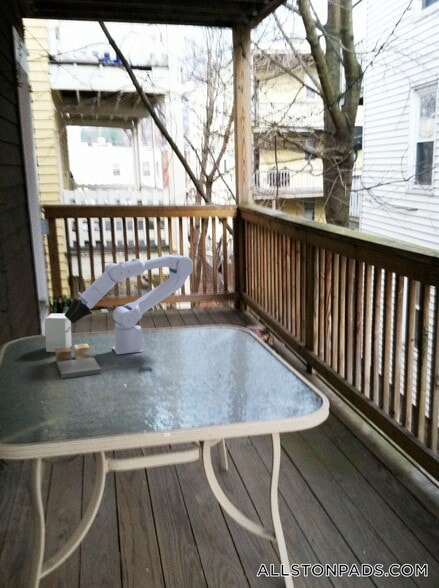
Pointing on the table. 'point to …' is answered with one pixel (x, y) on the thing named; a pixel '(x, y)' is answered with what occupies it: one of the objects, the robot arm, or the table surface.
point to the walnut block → (63, 354)
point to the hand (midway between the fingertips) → (68, 319)
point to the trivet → (78, 367)
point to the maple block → (81, 351)
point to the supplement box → (57, 332)
